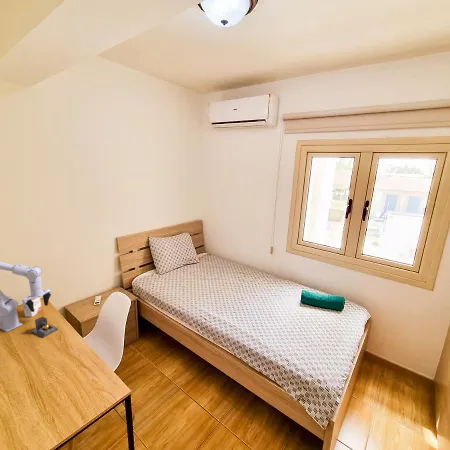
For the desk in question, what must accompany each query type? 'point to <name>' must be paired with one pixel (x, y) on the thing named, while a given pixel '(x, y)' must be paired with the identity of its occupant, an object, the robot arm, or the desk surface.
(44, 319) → the link
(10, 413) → the desk surface
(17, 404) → the desk surface
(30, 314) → the ink cartridge box
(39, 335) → the frame
